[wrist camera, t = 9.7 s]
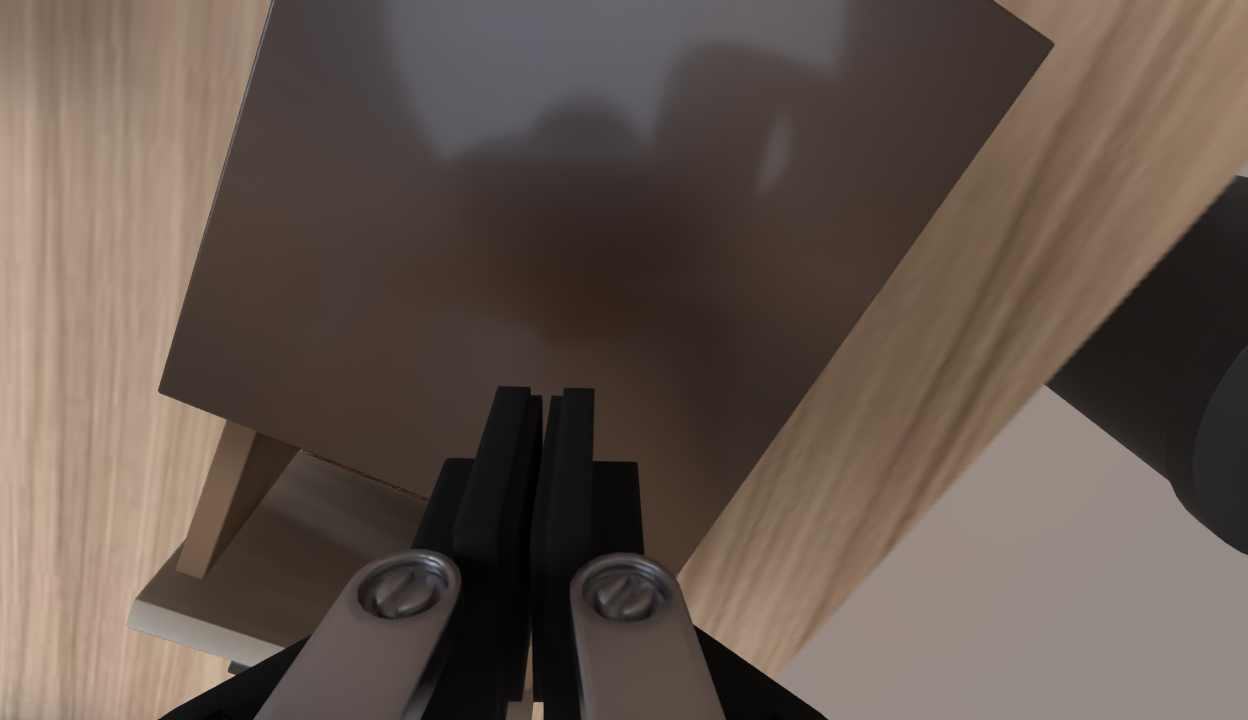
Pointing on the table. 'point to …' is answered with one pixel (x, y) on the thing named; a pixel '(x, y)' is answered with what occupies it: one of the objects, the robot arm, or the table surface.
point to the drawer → (275, 552)
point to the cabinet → (575, 221)
